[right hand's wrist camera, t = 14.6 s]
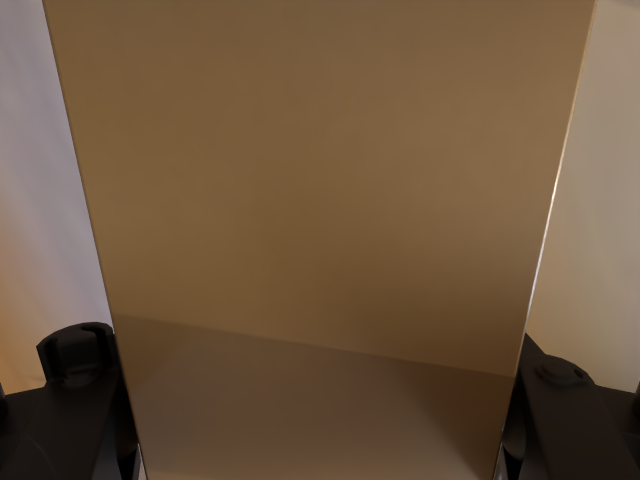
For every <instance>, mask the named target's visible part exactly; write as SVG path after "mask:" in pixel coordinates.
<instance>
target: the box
mask: <svg viewBox="0 0 640 480" xmlns="http://www.w3.org/2000/svg"><path fill="white" fill-rule="evenodd" d="M597 2H598V0H42V3H43V7H44V12H45V16H46V21H47V25H48V30H49V35H50V39H51V44H52V48H53V53H54V57H55V62H56V67H57V71H58V76H59V80H60V85H61V89H62V94H63V99H64V103H65V108H66V112H67V117H68V122H69V126H70V131H71V135H72V140H73V144H74V149H75V154H76V158H77V163H78V167H79V172H80V176H81V181H82V186H83V190H84V195H85V199H86V204H87V209H88V213H89V218H90V222H91V227H92V231H93V236H94V241H95V245H96V250H97V254H98V259H99V263H100V268H101V273H102V277H103V282H104V286H105V291H106V296H107V300H108V305H109V309H110V314H111V318H112V323H113V328H114V332H115V337H116V341H117V346H118V350H119V355H120V360H121V364H122V369H123V373H124V378H125V383H126V387H127V392H128V396H129V401H130V405H131V410H132V415H133V419H134V424H135V428H136V433H137V437H138V442H139V447H140V451H141V456H142V460H143V465H144V470H145V474H146V479H147V480H493V477H494V472H495V468H496V463H497V458H498V454H499V449H500V445H501V440H502V436H503V431H504V426H505V422H506V417H507V413H508V408H509V404H510V399H511V395H512V390H513V385H514V381H515V376H516V372H517V367H518V363H519V358H520V353H521V349H522V344H523V340H524V335H525V331H526V326H527V322H528V317H529V312H530V308H531V303H532V299H533V294H534V290H535V285H536V280H537V276H538V271H539V267H540V262H541V258H542V253H543V249H544V244H545V239H546V235H547V230H548V226H549V221H550V217H551V212H552V207H553V203H554V198H555V194H556V189H557V185H558V180H559V176H560V171H561V166H562V162H563V157H564V153H565V148H566V144H567V139H568V134H569V130H570V125H571V121H572V116H573V112H574V107H575V103H576V98H577V93H578V89H579V84H580V80H581V75H582V71H583V66H584V62H585V57H586V52H587V48H588V43H589V39H590V34H591V30H592V25H593V20H594V16H595V11H596V7H597Z"/></svg>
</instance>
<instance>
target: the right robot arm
mask: <svg viewBox="0 0 640 480" xmlns="http://www.w3.org/2000/svg"><path fill="white" fill-rule="evenodd" d="M36 348H37V351H38V355H39V358H40V361H41V364H42V368H43V371H44V374H45V377H46V381H47V382H46V384H45V386H44V387H41V388H37V389H32V390H28V391H23V392H18V393H13V394H8V395H5V394H4V391H3V389H2V386H1V383H0V480H138V478H139V471H140V463H141V458H140V451H139V447H138V443H139V442H138V437H137V433H136V428H135V424H134V419H133V415H132V410H131V405H130V401H129V396H128V392H127V387H126V383H125V378H124V373H123V369H122V364H121V360H120V355H119V350H118V346H117V341H116V337H115V334H113V329H112V327H110V326H109V325H108V324H105V323H100V322H87V323H80V324H76V325H72V326H68V327H66V328H63V329H61V330H58V331H56V332H54V333H52V334H51V335H49V336H47V337H46V338H44V339H43V340H42V341H41V342H40V343H39V344H38V345H37V346H36ZM501 442H502V447H501V451H500V456H499V460H498V465H497V470H496V474H495V480H501V478H502V480H640V382H639V385H638V387H637V390H636V393H631V392H626V391H621V390H616V389H611V388H606V387H602V386H598V385H595V383H594V381H593V380H592V379H591V378H590V376H589V375H588V374H587V373H586V372H585V371H584V370H582V369H581V368H579V367H578V366H577V365H575V364H573V363H571V362H569V361H567V360H564V359H562V358H559V357H555V356H551V355H546V354H545V353H544V352H543V351H542V350H541V349H540V348H539V347H538V346H537V344H536V343H535V342H534V341H533V340H532V339H531V338H530V337H529V336H528V334H527V333H526V332H525V335H524V340H523V344H522V349H521V353H520V358H519V363H518V367H517V372H516V376H515V381H514V385H513V390H512V395H511V399H510V404H509V408H508V413H507V417H506V422H505V426H504V431H503V436H502V440H501Z"/></svg>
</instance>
